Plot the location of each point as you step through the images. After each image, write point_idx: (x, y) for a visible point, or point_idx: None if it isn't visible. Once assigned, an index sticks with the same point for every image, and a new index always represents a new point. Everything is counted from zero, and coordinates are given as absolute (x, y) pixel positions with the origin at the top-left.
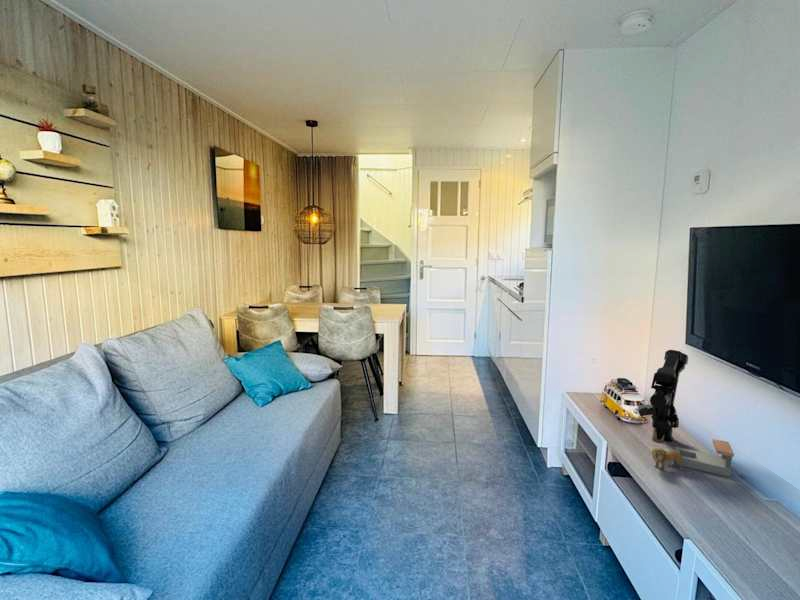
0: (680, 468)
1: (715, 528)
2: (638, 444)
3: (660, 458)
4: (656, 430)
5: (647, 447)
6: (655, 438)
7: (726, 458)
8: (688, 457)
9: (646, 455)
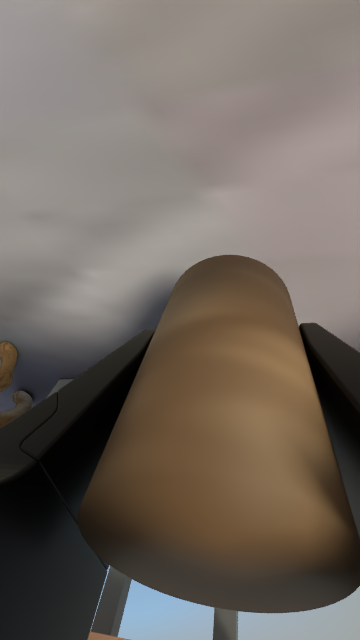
0: (13, 396)
1: None
2: (228, 71)
3: None
4: (7, 427)
5: (207, 188)
6: (164, 310)
7: (107, 611)
8: None
9: (18, 204)
